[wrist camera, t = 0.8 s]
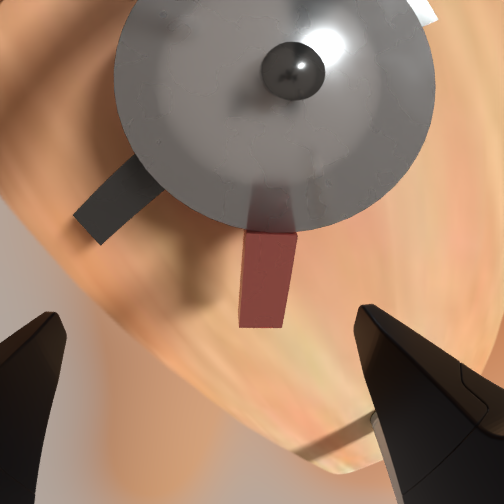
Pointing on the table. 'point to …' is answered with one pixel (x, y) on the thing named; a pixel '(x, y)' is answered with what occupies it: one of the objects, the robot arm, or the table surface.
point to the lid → (274, 117)
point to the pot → (151, 179)
